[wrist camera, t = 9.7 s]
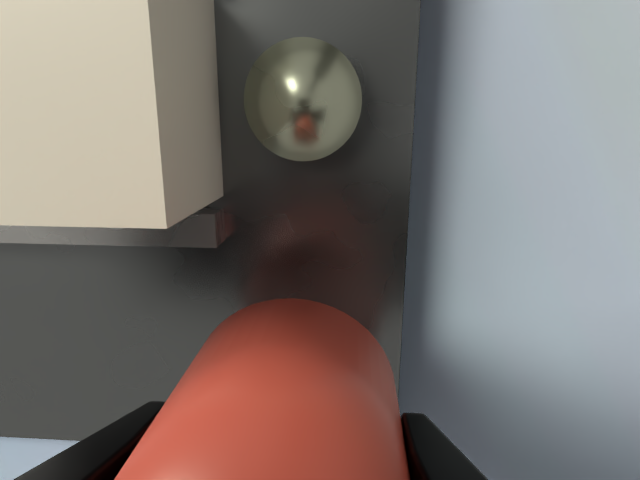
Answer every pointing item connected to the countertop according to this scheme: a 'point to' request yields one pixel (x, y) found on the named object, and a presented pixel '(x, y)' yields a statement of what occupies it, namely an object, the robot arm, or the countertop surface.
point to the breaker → (108, 112)
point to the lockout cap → (279, 403)
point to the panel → (230, 222)
